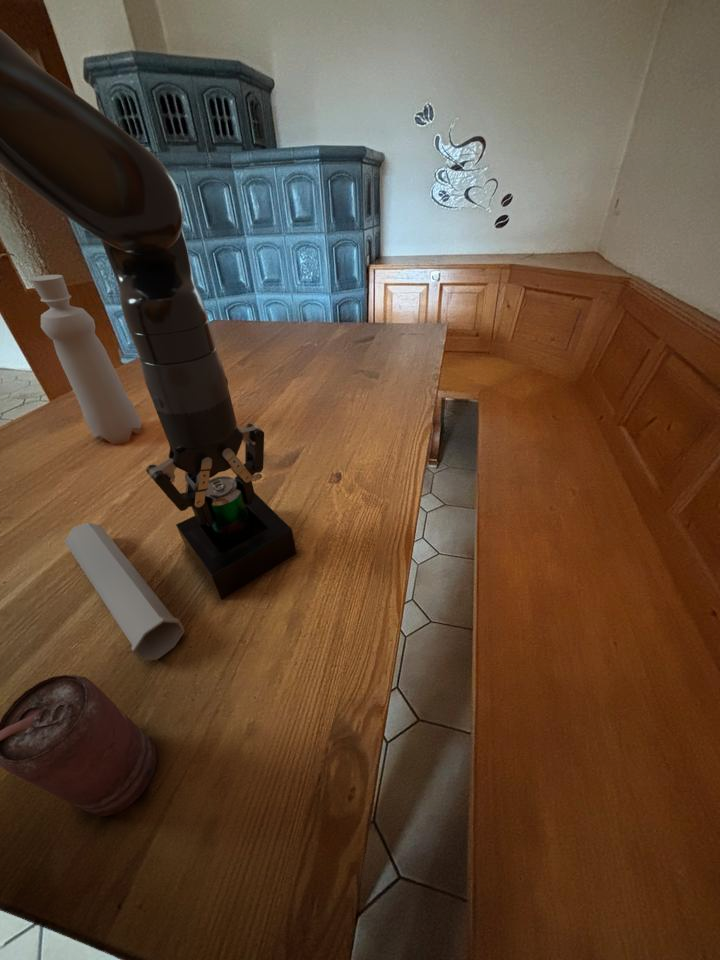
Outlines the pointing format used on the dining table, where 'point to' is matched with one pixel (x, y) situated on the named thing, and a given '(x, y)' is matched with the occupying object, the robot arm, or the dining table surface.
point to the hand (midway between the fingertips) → (227, 511)
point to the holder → (239, 549)
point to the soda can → (228, 513)
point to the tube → (124, 592)
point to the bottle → (86, 364)
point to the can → (76, 745)
